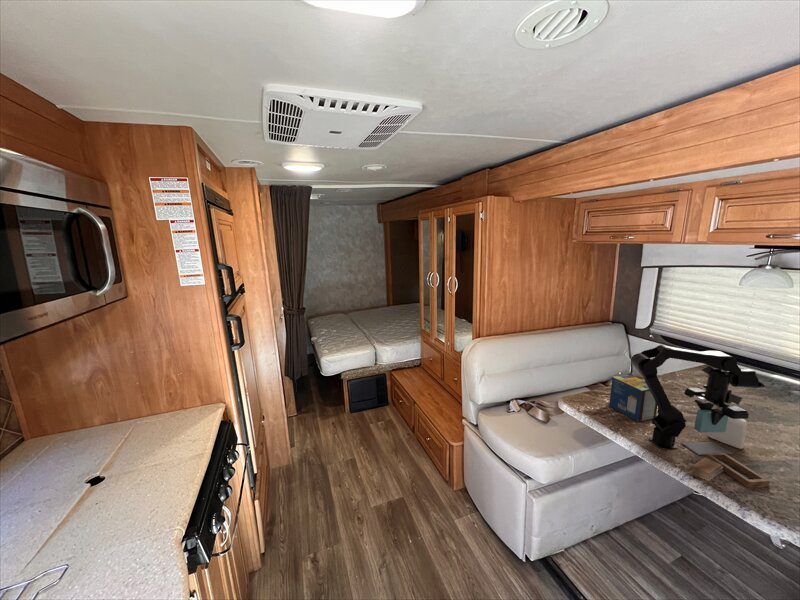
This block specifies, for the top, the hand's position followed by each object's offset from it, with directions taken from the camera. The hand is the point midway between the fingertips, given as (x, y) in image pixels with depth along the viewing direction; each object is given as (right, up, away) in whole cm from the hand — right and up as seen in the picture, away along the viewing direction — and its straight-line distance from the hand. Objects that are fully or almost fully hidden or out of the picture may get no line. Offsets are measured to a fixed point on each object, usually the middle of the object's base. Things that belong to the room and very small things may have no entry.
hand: (710, 422), depth 119 cm
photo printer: (+12, -10, +6) cm, 17 cm away
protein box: (-9, -7, +29) cm, 31 cm away
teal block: (0, -3, +1) cm, 3 cm away
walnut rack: (-1, -13, -10) cm, 17 cm away
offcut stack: (-11, -14, -10) cm, 20 cm away
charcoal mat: (0, -11, +2) cm, 11 cm away
